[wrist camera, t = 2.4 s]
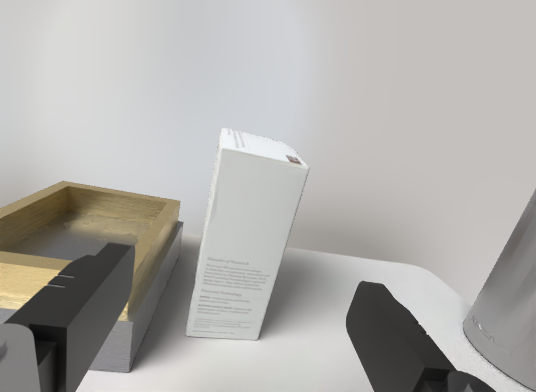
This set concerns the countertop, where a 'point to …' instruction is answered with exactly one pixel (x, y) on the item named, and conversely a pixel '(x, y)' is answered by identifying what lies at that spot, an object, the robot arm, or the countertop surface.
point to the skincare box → (244, 234)
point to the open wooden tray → (90, 252)
